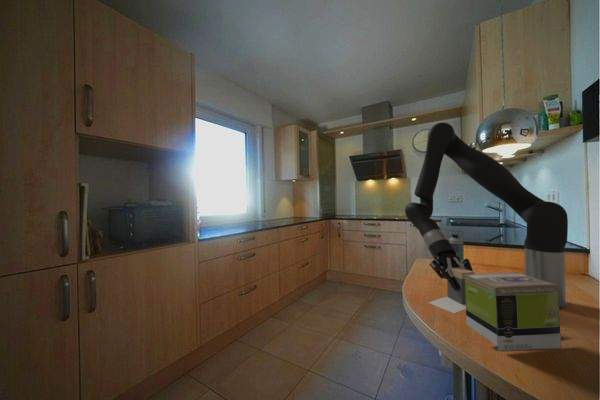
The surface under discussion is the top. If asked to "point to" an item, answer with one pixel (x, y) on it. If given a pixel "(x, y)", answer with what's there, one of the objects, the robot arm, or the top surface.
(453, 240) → the spray can
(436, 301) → the board
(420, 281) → the top surface
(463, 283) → the block
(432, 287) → the top surface
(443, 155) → the robot arm
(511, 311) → the tea box
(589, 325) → the top surface
